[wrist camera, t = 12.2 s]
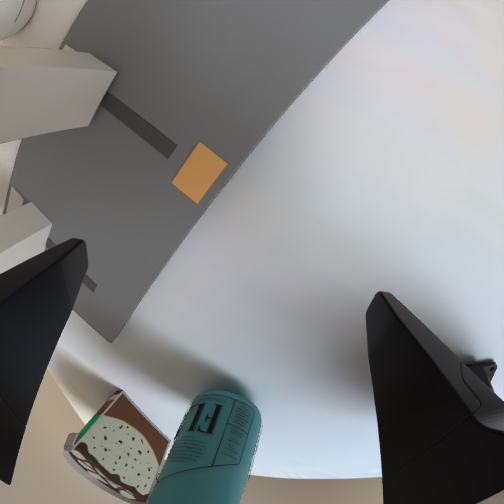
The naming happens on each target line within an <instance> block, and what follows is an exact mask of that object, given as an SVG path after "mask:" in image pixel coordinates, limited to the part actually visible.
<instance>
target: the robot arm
mask: <svg viewBox="0 0 504 504" xmlns="http://www.w3.org/2000/svg"><path fill="white" fill-rule="evenodd" d="M87 269H88V255H87V246H86V242H85V241H84V240H83V239H78V238H71V239H69V240H67V241H65V242H63V243H60V244H58V245H56V246H54V247H52V248H50V249H48V250H46V251H44V252H42V253H40V254H38V255H36V256H34V257H32V258H30V259H28V260H26V261H24V262H22V263H20V264H18V265H16V266H14V267H12V268H11V269H9V270H7V271H5V272H3V273H1V274H0V480H1V481H3V482H5V483H6V484H8V485H10V484H11V481H12V476H13V472H14V468H15V464H16V460H17V456H18V453H19V449H20V445H21V441H22V438H23V435H24V432H25V428H26V425H27V421H28V418H29V415H30V412H31V409H32V406H33V403H34V400H35V398H36V395H37V392H38V390H39V387H40V384H41V382H42V379H43V376H44V374H45V371H46V369H47V366H48V364H49V361H50V359H51V356H52V354H53V352H54V349H55V347H56V345H57V342H58V340H59V338H60V336H61V333H62V331H63V329H64V327H65V325H66V322H67V320H68V318H69V316H70V314H71V311H72V309H73V307H74V304H75V301H76V298H77V296H78V293H79V290H80V288H81V285H82V282H83V280H84V277H85V275H86V272H87ZM366 329H367V344H368V358H369V365H370V371H371V378H372V385H373V392H374V399H375V407H376V415H377V423H378V433H379V442H380V453H381V466H382V477H383V478H382V483H383V504H504V401H503V400H502V399H500V398H499V397H498V396H497V395H496V394H495V392H494V390H493V387H492V385H491V383H490V382H491V380H492V378H493V376H494V373H495V371H496V369H497V365H496V363H495V362H488V363H482V364H475V365H468V366H466V365H465V364H464V363H463V362H462V361H461V362H460V359H459V358H458V357H457V356H456V355H455V354H454V353H453V352H452V351H451V350H450V349H449V348H448V347H447V346H446V345H445V344H444V343H443V342H442V341H441V340H440V339H439V338H438V337H437V336H436V335H435V334H434V333H432V332H431V331H430V330H429V329H428V328H427V327H426V326H425V325H424V324H423V323H422V322H421V321H420V320H419V319H418V318H417V317H416V316H415V315H414V314H412V313H411V312H410V311H409V310H408V309H407V308H406V307H405V306H404V305H403V304H402V303H401V302H400V301H398V300H397V299H396V298H395V297H394V296H393V295H392V294H391V293H389V292H382V291H379V292H377V293H376V294H375V296H374V298H373V300H372V302H371V303H370V305H369V307H368V309H367V311H366Z"/></svg>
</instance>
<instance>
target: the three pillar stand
mask: <svg viewBox="0 0 504 504" xmlns="http://www.w3.org/2000/svg"><path fill="white" fill-rule="evenodd" d="M388 1H389V0H88V1H87V2H86V4H85V5H84V7H83V8H82V10H81V12H80V13H79V15H78V16H77V18H76V20H75V22H74V23H73V25H72V27H71V28H70V30H69V32H68V34H67V36H66V37H65V39H64V41H63V43H62V45H61V47H60V49H59V50H68V51H76V52H84V53H90V54H91V55H93V56H94V57H96V58H97V59H99V60H100V61H102V62H103V63H105V64H106V65H108V66H109V67H111V68H112V69H113V70H115V71H116V72H117V74H116V75H115V77H114V79H113V80H112V82H111V84H110V86H109V87H108V89H107V91H106V93H105V95H104V96H103V98H102V100H101V102H100V104H99V106H98V108H97V110H96V112H95V114H94V116H93V118H92V120H91V122H90V124H89V126H85V127H79V128H73V129H67V130H61V131H56V132H50V133H45V134H40V135H35V136H31V137H26V138H22V141H21V144H20V147H19V150H18V154H17V157H16V161H15V165H14V168H13V172H12V176H11V180H10V184H9V189H8V193H7V198H6V203H5V208H4V213H3V215H2V216H0V274H1V273H3V272H5V271H7V270H9V269H11V268H12V267H14V266H16V265H18V264H20V263H22V262H24V261H26V260H28V259H30V258H32V257H34V256H36V255H38V254H40V253H42V252H44V251H46V250H48V249H50V248H52V247H54V246H56V245H58V244H60V243H63V242H65V241H67V240H69V239H71V238H78V239H83V240H84V241H85V242H86V246H87V255H88V269H87V272H86V275H85V277H84V280H83V282H82V285H81V288H80V290H79V293H78V296H77V298H76V301H75V304H74V307H73V310H74V311H75V312H76V313H77V314H78V315H79V316H80V317H81V318H82V319H83V320H85V321H86V322H87V323H88V324H89V325H90V326H91V327H92V328H93V329H95V330H96V331H97V332H98V333H99V334H100V335H101V336H103V337H104V338H105V339H106V340H107V341H108V342H110V343H112V342H113V341H114V339H115V338H116V337H117V335H118V334H119V332H120V331H121V329H122V328H123V326H124V325H125V323H126V322H127V320H128V319H129V317H130V316H131V314H132V313H133V311H134V310H135V308H136V307H137V305H138V304H139V302H140V301H141V299H142V298H143V296H144V295H145V294H146V292H147V291H148V289H149V288H150V286H151V285H152V283H153V282H154V281H155V279H156V278H157V276H158V275H159V273H160V272H161V271H162V269H163V268H164V266H165V265H166V263H167V262H168V261H169V259H170V258H171V257H172V255H173V254H174V252H175V251H176V250H177V248H178V247H179V245H180V244H181V243H182V241H183V240H184V239H185V237H186V236H187V235H188V233H189V232H190V230H191V229H192V228H193V226H194V225H195V224H196V222H197V221H198V220H199V218H200V217H201V216H202V214H203V213H204V212H205V210H206V209H207V208H208V206H209V205H210V204H211V203H212V201H213V200H214V199H215V197H216V196H217V195H218V193H219V192H220V191H221V190H222V188H223V187H224V186H225V184H226V183H227V182H228V181H229V179H230V178H231V177H232V176H233V174H234V173H235V172H236V171H237V169H238V168H239V167H240V165H241V164H242V163H243V162H244V161H245V159H246V158H247V157H248V156H249V154H250V153H251V152H252V151H253V149H254V148H255V147H256V146H257V145H258V143H259V142H260V141H261V140H262V138H263V137H264V136H265V135H266V134H267V132H268V131H269V130H270V129H271V128H272V126H273V125H274V124H275V123H276V122H277V121H278V119H279V118H280V117H281V116H282V115H283V114H284V112H285V111H286V110H287V109H288V108H289V107H290V105H291V104H292V103H293V102H294V101H295V100H296V98H297V97H298V96H299V95H300V94H301V93H302V92H303V91H304V89H305V88H306V87H307V86H308V85H309V84H310V83H311V82H312V80H313V79H314V78H315V77H316V76H317V75H318V74H319V73H320V72H321V70H322V69H323V68H324V67H325V66H326V65H327V64H328V63H329V62H330V61H331V60H332V58H333V57H334V56H335V55H336V54H337V53H338V52H339V51H340V50H341V49H342V48H343V47H344V46H345V45H346V44H347V42H348V41H349V40H350V39H351V38H352V37H353V36H354V35H355V34H356V33H357V32H358V31H359V30H360V29H361V28H362V27H363V26H364V25H365V24H366V23H367V22H368V21H369V20H370V19H371V18H372V17H373V16H374V15H375V14H376V13H377V12H378V11H379V10H380V9H381V8H382V7H383V6H384V5H385V4H386V3H387V2H388Z"/></svg>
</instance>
